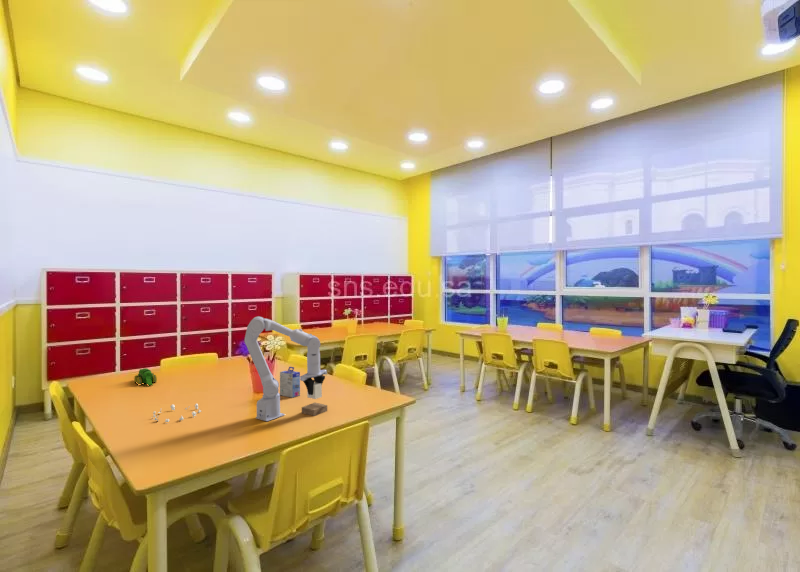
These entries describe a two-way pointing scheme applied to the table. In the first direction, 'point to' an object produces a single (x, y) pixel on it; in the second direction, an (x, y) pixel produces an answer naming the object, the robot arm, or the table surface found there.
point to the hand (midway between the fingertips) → (314, 393)
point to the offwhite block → (316, 391)
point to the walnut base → (314, 409)
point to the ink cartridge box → (290, 383)
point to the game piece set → (174, 409)
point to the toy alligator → (145, 377)
